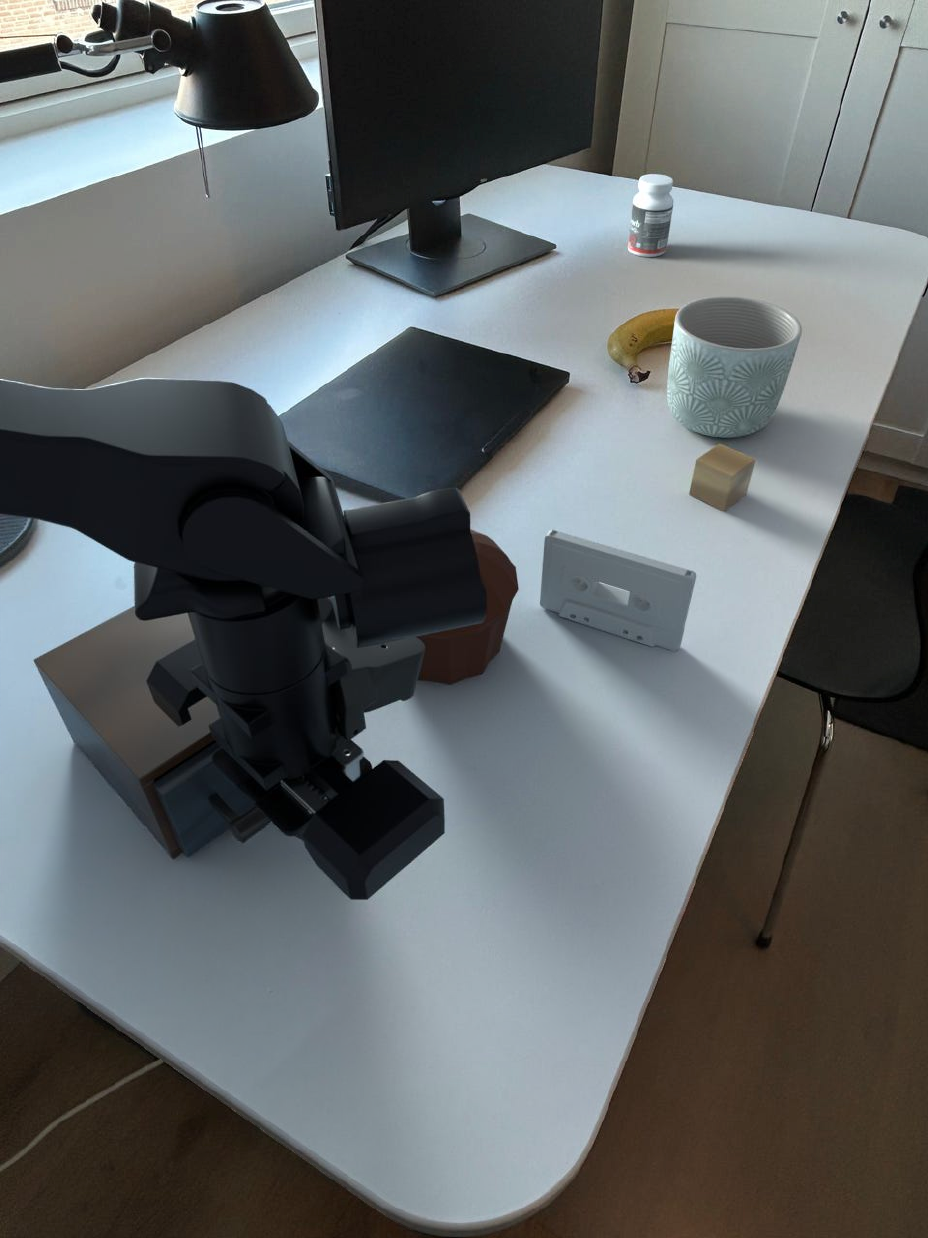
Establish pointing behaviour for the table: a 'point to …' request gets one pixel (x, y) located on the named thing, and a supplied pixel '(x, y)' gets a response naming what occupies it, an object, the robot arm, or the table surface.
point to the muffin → (479, 643)
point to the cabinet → (126, 709)
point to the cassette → (616, 590)
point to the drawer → (205, 803)
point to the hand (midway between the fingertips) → (308, 833)
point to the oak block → (721, 476)
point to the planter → (729, 364)
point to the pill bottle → (651, 216)
